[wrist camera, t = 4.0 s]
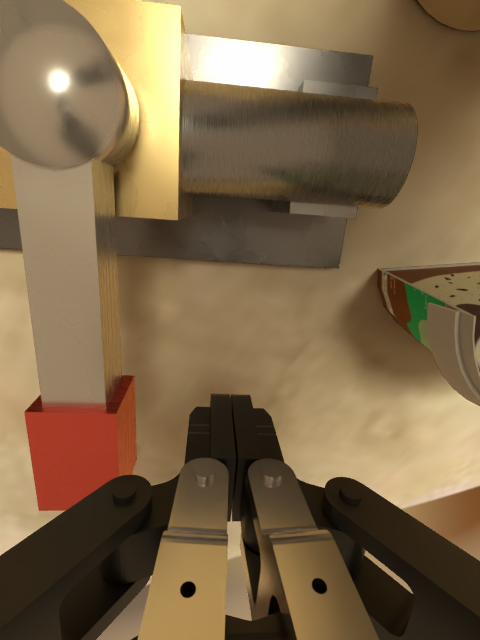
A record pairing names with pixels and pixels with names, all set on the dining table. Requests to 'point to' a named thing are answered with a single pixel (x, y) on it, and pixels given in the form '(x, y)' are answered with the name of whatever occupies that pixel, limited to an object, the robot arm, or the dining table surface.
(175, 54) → the valve pipe
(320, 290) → the dining table surface
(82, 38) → the valve lever
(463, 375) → the food container
